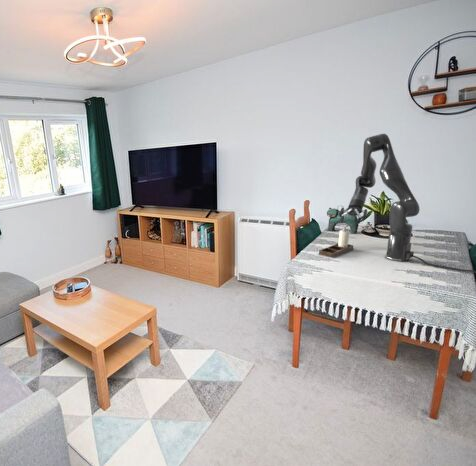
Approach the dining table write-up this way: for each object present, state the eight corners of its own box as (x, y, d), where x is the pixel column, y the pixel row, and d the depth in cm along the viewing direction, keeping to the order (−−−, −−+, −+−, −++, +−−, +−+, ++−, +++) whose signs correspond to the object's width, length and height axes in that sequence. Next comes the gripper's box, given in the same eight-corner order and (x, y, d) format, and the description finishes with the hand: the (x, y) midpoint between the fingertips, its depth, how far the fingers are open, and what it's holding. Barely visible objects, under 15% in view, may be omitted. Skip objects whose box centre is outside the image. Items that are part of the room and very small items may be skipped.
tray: (353, 249, 194) (353, 245, 194) (332, 258, 184) (332, 253, 184) (339, 246, 201) (339, 242, 200) (318, 254, 191) (319, 250, 190)
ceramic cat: (324, 230, 237) (327, 205, 232) (328, 228, 241) (330, 203, 235) (355, 234, 221) (358, 207, 216) (358, 232, 225) (361, 205, 220)
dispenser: (349, 249, 195) (351, 224, 191) (344, 250, 193) (347, 226, 188) (340, 247, 199) (342, 223, 195) (336, 249, 197) (338, 225, 193)
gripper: (343, 197, 203) (335, 218, 200) (370, 199, 192) (361, 220, 189) (345, 204, 208) (337, 224, 204) (371, 206, 197) (363, 227, 193)
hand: (349, 222), depth 196 cm, fingers open, 8 cm apart
